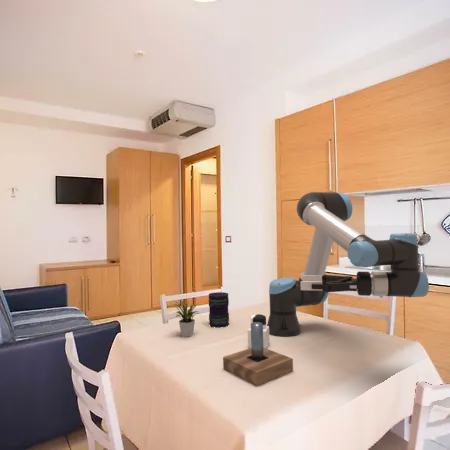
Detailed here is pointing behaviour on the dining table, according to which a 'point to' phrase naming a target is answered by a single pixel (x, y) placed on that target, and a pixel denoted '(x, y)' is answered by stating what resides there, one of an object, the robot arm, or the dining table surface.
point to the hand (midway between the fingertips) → (301, 282)
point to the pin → (257, 342)
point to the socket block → (258, 366)
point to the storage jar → (218, 309)
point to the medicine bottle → (262, 319)
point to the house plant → (186, 319)
